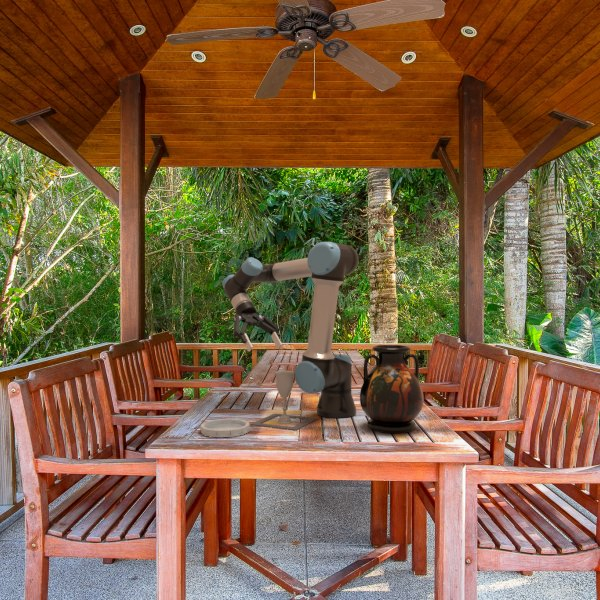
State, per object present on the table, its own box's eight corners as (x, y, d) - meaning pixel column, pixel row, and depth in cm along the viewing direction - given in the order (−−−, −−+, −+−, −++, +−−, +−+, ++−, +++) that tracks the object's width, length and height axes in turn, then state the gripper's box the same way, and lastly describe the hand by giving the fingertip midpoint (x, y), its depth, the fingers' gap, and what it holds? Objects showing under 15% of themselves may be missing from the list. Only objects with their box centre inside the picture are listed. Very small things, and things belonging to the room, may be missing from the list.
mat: (317, 419, 189) (317, 418, 189) (296, 430, 173) (295, 429, 173) (274, 414, 197) (274, 413, 197) (250, 425, 181) (250, 423, 181)
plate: (258, 428, 176) (258, 421, 176) (232, 440, 161) (232, 432, 161) (219, 423, 183) (219, 417, 183) (191, 434, 168) (191, 427, 168)
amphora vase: (366, 437, 165) (366, 350, 164) (354, 421, 186) (354, 343, 186) (432, 435, 166) (432, 349, 166) (413, 419, 188) (413, 343, 187)
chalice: (286, 425, 180) (286, 374, 180) (271, 423, 184) (270, 372, 183) (298, 421, 186) (297, 371, 186) (282, 418, 190) (282, 370, 190)
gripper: (265, 312, 215) (287, 352, 203) (212, 314, 199) (233, 356, 188) (273, 300, 211) (295, 339, 199) (220, 300, 195) (241, 343, 183)
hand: (265, 348), depth 193 cm, fingers open, 13 cm apart
